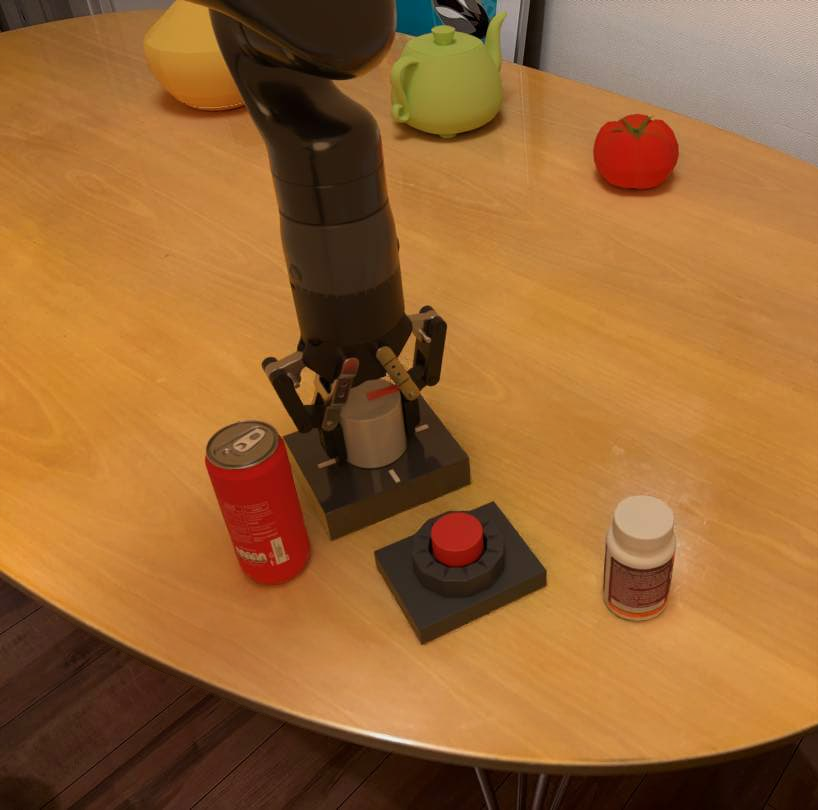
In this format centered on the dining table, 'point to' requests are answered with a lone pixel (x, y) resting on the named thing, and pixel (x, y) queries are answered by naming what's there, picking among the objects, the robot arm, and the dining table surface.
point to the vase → (190, 58)
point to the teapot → (448, 80)
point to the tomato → (635, 152)
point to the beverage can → (258, 500)
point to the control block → (459, 575)
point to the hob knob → (373, 424)
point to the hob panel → (378, 476)
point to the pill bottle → (639, 558)
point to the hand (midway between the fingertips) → (372, 441)
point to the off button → (457, 539)
